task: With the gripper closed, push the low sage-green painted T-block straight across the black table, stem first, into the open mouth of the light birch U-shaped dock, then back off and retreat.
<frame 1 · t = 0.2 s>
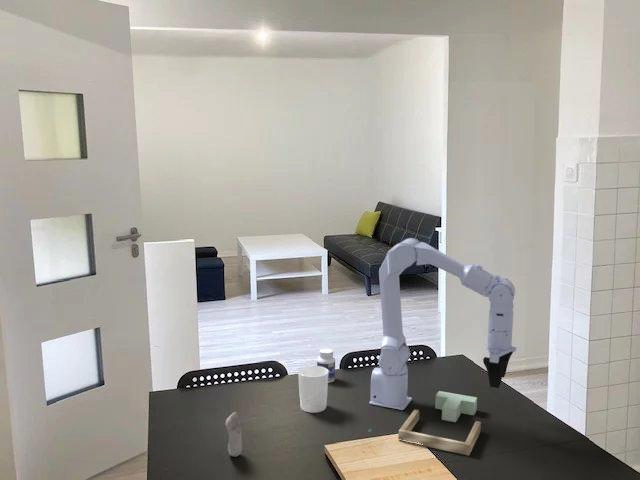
hand: (497, 381, 153), 10 cm above the table, fingers open, 7 cm apart
dock: (440, 434, 146), on the table
white cup: (313, 408, 161), on the table
tee: (453, 413, 158), on the table
pill bottle: (326, 380, 180), on the table
fossil: (234, 455, 136), on the table
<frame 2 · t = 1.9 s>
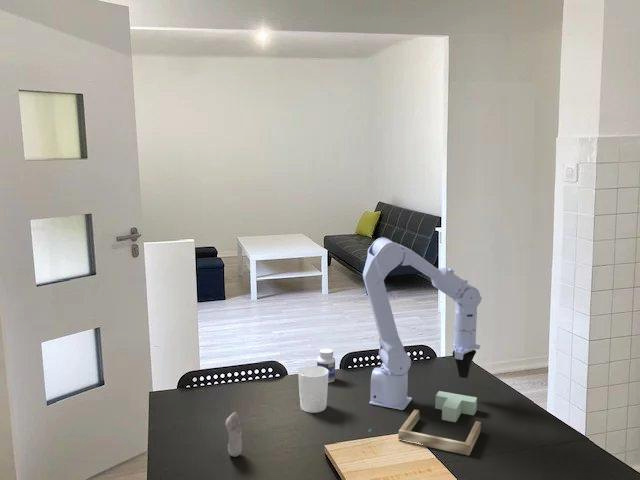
hand: (463, 376, 167), 6 cm above the table, fingers closed
nothing on the table moved.
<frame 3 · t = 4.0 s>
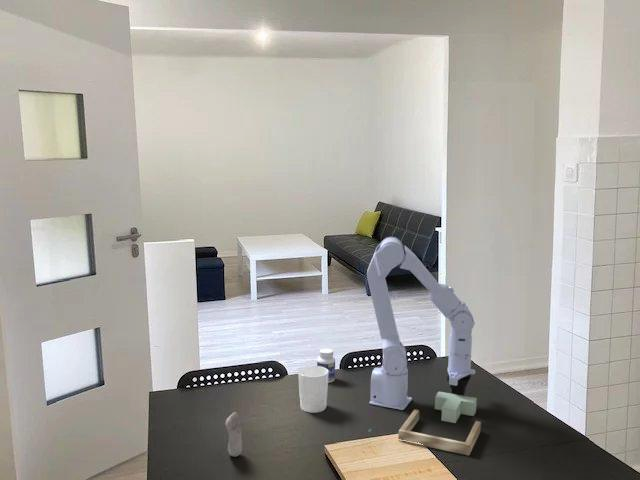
hand: (458, 401, 162), 1 cm above the table, fingers closed
tee: (452, 414, 157), on the table, touching gripper
everything else where it was.
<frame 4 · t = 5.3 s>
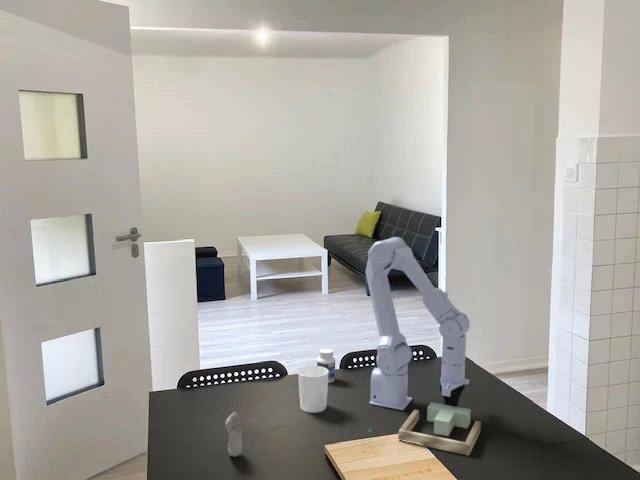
hand: (451, 413, 156), 1 cm above the table, fingers closed
tee: (445, 426, 150), on the table, touching gripper
everything else where it was.
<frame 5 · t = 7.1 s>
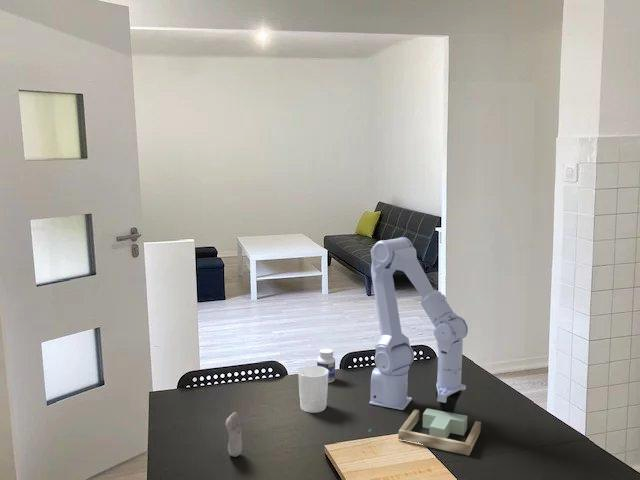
hand: (447, 419, 152), 1 cm above the table, fingers closed
tee: (441, 433, 147), on the table, touching gripper
everything else where it was.
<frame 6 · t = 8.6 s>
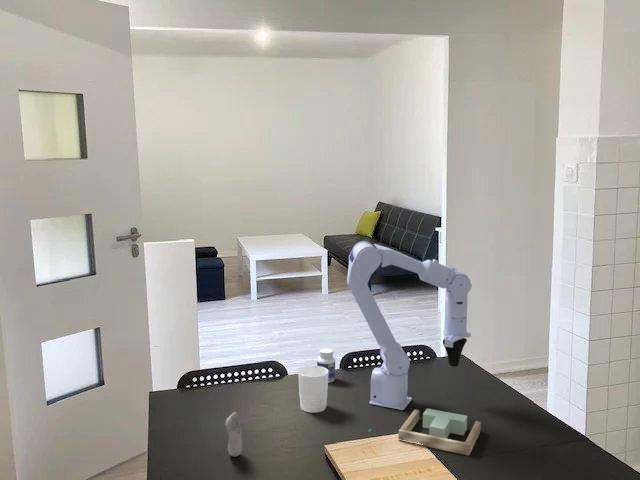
hand: (453, 365, 164), 10 cm above the table, fingers closed
tee: (441, 433, 147), on the table
everything else where it was.
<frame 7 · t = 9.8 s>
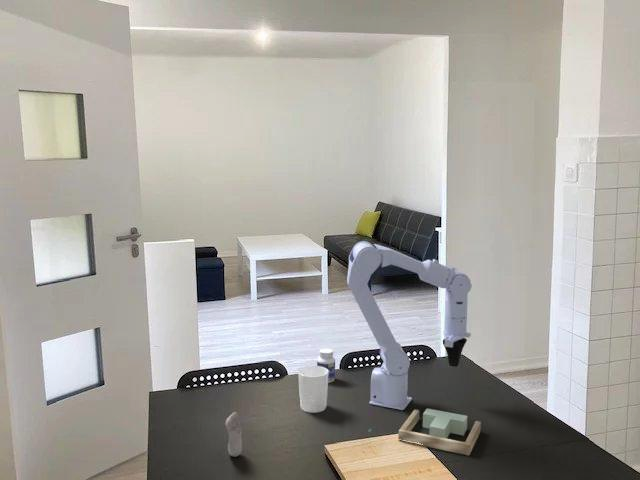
hand: (453, 365, 164), 10 cm above the table, fingers closed
nothing on the table moved.
at the end: tee inside the target area (1.2 cm from its centre), on the table; tee moved 12.1 cm from its start; tee tilted 1° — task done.
